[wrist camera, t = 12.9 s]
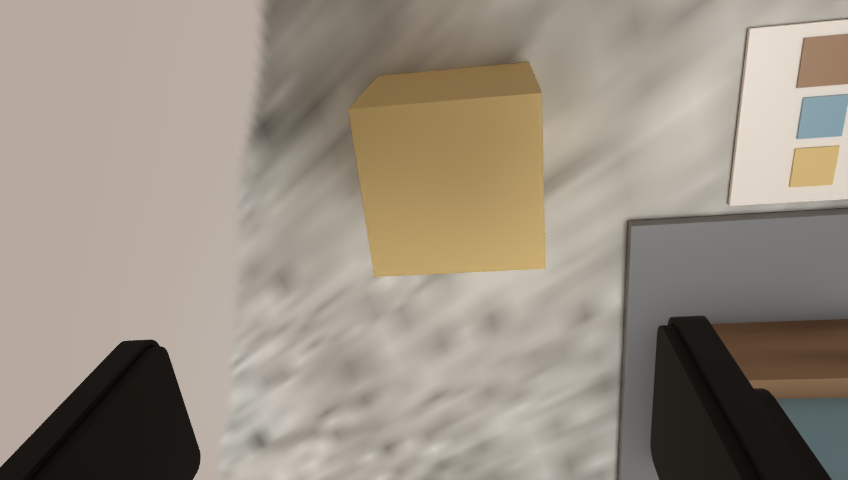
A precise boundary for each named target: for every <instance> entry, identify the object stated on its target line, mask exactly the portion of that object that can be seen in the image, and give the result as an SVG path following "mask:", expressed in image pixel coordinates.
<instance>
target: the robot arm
mask: <svg viewBox="0 0 848 480" xmlns="http://www.w3.org/2000/svg"><path fill="white" fill-rule="evenodd" d="M650 446H651V455H652V460H653V463H654V466H655V469H656V472H657V475H658V478H659V480H832V479H831V478H830V476H829V475H828V473H827V472H826V470H825V469H824V467H823V466H822V465H821V463H820V462H819V460H818V459H817V457H816V456H815V455H814V453H813V452H812V450H811V449H810V447H809V446H808V445H807V443H806V442H805V440H804V439H803V437H802V436H801V435H800V433H799V432H798V430H797V429H796V427H795V426H794V425H793V423H792V422H791V420H790V419H789V417H788V416H787V415H786V413H785V412H784V410H783V409H782V407H781V406H780V404H779V403H778V402H777V400H776V399H775V397H774V396H773V395H772V394H771V393H770V392H769V391H768V390H766V389H764V388H756V389H754V388H753V387H752V385H751V384H750V382H749V381H748V379H747V378H746V376H745V375H744V373H743V372H742V370H741V369H740V367H739V366H738V364H737V363H736V361H735V360H734V358H733V357H732V355H731V354H730V352H729V351H728V349H727V348H726V346H725V345H724V343H723V342H722V340H721V339H720V337H719V336H718V334H717V333H716V331H715V330H714V328H713V327H712V325H711V324H710V322H709V320H708V319H707V318H706V317H705V316H680V317H670V318H669V321H668V325H660V326H659V327H658V330H657V342H656V359H655V375H654V391H653V407H652V423H651V439H650ZM199 465H200V450H199V447H198V444H197V441H196V438H195V435H194V432H193V429H192V426H191V423H190V419H189V416H188V413H187V410H186V407H185V404H184V401H183V398H182V395H181V392H180V389H179V385H178V382H177V380H176V377H175V374H174V370H173V367H172V364H171V361H170V358H169V355H168V352H167V350H166V349H165V348H164V347H160V346H159V344H158V343H157V342H156V341H154V340H133V341H123V342H121V343H120V344H119V345H118V346H117V347H116V348H115V349H114V350H113V351H112V352H111V353H110V354H109V355H108V356H107V357H106V358H105V359H104V360H103V361H102V362H101V363H100V364H99V366H97V368H96V369H95V370H94V371H93V372H92V373H91V374H90V375H89V376H88V377H87V378H86V379H85V380H84V381H83V382H82V383H81V384H80V385H79V386H78V387H77V388H76V389H75V390H74V392H73V393H72V394H71V395H70V396H69V397H68V398H67V399H66V400H65V401H64V402H63V403H62V404H61V405H60V406H59V407H58V408H57V409H56V410H55V411H54V412H53V413H52V414H51V415H50V417H48V418H47V419H46V420H45V422H44V423H43V424H42V425H41V426H40V427H39V428H38V429H37V430H36V431H35V432H34V433H33V434H32V435H31V436H30V437H29V438H28V439H27V440H26V441H25V442H24V443H23V444H22V446H20V447H19V449H18V450H17V451H16V452H15V453H14V454H13V455H12V456H11V457H10V458H9V459H8V460H7V461H6V462H5V463H4V464H3V465H2V466H1V467H0V480H193V478H194V477H195V475H196V473H197V471H198V469H199Z"/></svg>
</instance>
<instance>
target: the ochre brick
mask: <svg viewBox="0 0 848 480" xmlns="http://www.w3.org/2000/svg"><path fill="white" fill-rule="evenodd" d="M348 112H349V118H350V125H351V131H352V138H353V144H354V150H355V157H356V163H357V169H358V176H359V182H360V189H361V195H362V201H363V208H364V214H365V220H366V227H367V233H368V240H369V246H370V252H371V259H372V265H373V272H374V277H379V276H400V275H421V274H442V273H463V272H485V271H506V270H527V269H545V223H544V177H543V131H542V92H541V90H540V88H539V85H538V83H537V80H536V78H535V75H534V73H533V70H532V68H531V66H530V63H529V62H524V63H513V64H502V65H491V66H480V67H469V68H458V69H447V70H436V71H425V72H414V73H403V74H392V75H381V76H378V77H377V78H376V79H375V80H374V81H373V82H372V83H371V85H370V86H369V87H368V88H367V89H366V90H365V91H364V92H363V93H362V94H361V96H360V97H359V98H358V99H357V100H356V101H355V102H354V103H353V104H352V105H351V107H350V108H349V109H348Z"/></svg>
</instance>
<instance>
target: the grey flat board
mask: <svg viewBox="0 0 848 480" xmlns="http://www.w3.org/2000/svg"><path fill="white" fill-rule="evenodd" d="M680 316H705V317H706V318H707V319H708V320H709V322H710V324H719V323H748V322H777V321H805V320H834V319H848V208H845V209H828V210H810V211H792V212H775V213H757V214H739V215H722V216H704V217H687V218H669V219H651V220H634V221H628V242H627V266H626V291H625V315H624V339H623V363H622V388H621V412H620V436H619V460H618V480H659V478H658V475H657V472H656V469H655V466H654V463H653V460H652V455H651V446H650V439H651V423H652V407H653V391H654V375H655V359H656V342H657V330H658V327H659V326H660V325H668V321H669V318H670V317H680Z"/></svg>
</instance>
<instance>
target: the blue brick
mask: <svg viewBox="0 0 848 480" xmlns="http://www.w3.org/2000/svg"><path fill="white" fill-rule="evenodd" d="M776 400H777V402H778V403H779V404H780V406H781V407H782V409H783V410H784V412H785V413H786V415H787V416H788V417H789V419H790V420H791V422H792V423H793V425H794V426H795V427H796V429H797V430H798V432H799V433H800V435H801V436H802V437H803V439H804V440H805V442H806V443H807V445H808V446H809V447H810V449H811V450H812V452H813V453H814V455H815V456H816V457H817V459H818V460H819V462H820V463H821V465H822V466H823V467H824V469H825V470H826V472H827V473H828V475H829V476H830V478H831V479H832V480H848V398H803V399H776Z"/></svg>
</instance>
